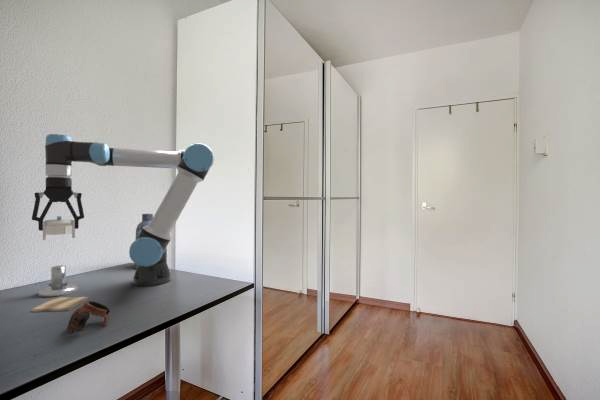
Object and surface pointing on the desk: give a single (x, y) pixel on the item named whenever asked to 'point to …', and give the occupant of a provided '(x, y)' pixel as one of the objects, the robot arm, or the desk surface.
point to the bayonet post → (58, 284)
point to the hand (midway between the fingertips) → (59, 238)
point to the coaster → (60, 304)
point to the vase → (143, 224)
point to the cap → (58, 226)
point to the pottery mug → (87, 315)
